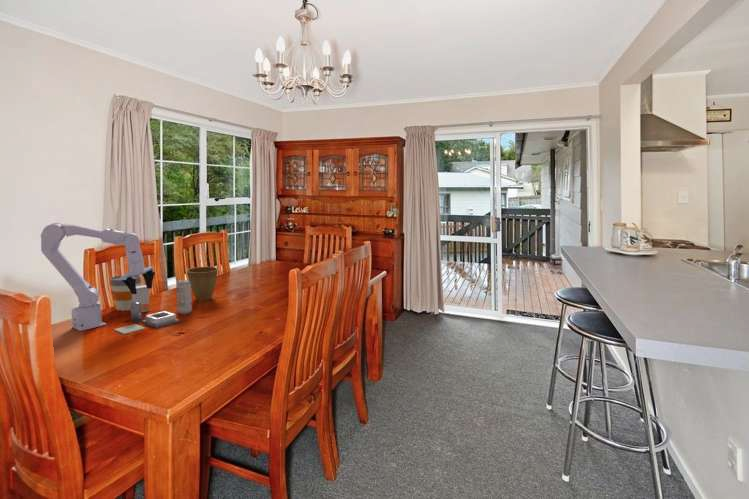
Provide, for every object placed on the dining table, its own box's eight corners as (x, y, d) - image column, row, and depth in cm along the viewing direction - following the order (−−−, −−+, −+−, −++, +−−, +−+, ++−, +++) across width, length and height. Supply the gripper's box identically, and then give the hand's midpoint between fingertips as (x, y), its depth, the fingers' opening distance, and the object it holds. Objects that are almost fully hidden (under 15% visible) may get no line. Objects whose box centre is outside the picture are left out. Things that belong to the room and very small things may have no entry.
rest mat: (124, 334, 151) (124, 333, 151) (114, 330, 155) (114, 329, 155) (145, 328, 158) (145, 327, 158) (135, 324, 162) (135, 323, 162)
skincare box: (136, 313, 177) (134, 288, 175) (132, 312, 179) (131, 287, 178) (150, 310, 182) (149, 286, 180) (146, 309, 184) (145, 284, 182)
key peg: (134, 322, 165) (133, 304, 163) (129, 321, 167) (128, 303, 166) (144, 320, 168) (142, 302, 167) (139, 318, 170) (138, 301, 169)
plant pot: (188, 296, 207) (187, 267, 205) (218, 294, 214) (217, 266, 211) (187, 303, 194) (186, 272, 192) (219, 301, 200) (218, 271, 198)
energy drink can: (194, 311, 182) (193, 280, 180) (182, 315, 176) (181, 283, 174) (187, 309, 185) (185, 279, 183) (175, 312, 179) (173, 281, 177)
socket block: (156, 328, 159) (156, 320, 158) (141, 322, 165) (141, 315, 165) (179, 321, 167) (179, 314, 167) (164, 316, 174) (164, 309, 173)
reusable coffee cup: (118, 313, 177) (115, 281, 175) (107, 308, 184) (105, 277, 182) (147, 307, 187) (145, 277, 185) (136, 302, 194) (134, 273, 192)
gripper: (126, 265, 157) (133, 296, 160) (156, 256, 171) (162, 286, 173) (114, 265, 160) (121, 296, 162) (145, 256, 173) (151, 285, 176)
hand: (142, 291), depth 168 cm, fingers open, 7 cm apart
